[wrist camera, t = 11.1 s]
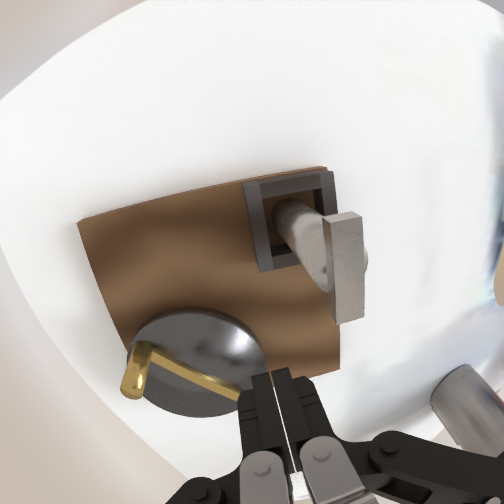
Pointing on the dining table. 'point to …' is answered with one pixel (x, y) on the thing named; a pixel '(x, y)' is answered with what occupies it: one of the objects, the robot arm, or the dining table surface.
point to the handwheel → (192, 361)
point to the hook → (327, 253)
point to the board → (220, 265)
